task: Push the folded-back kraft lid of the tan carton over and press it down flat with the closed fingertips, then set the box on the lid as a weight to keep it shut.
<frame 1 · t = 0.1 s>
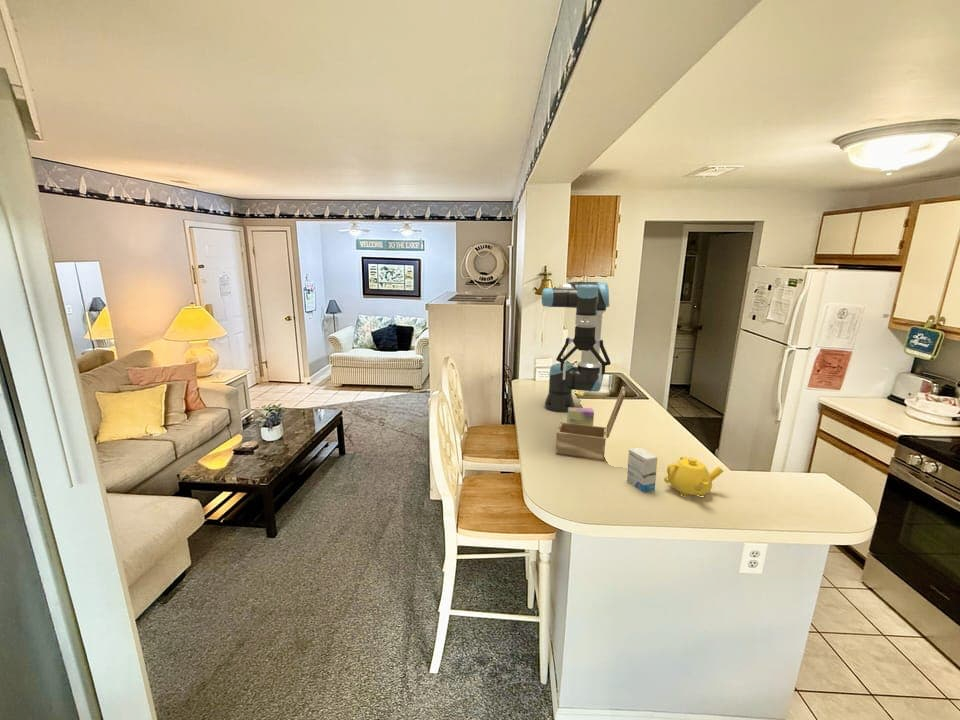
hand: (581, 380, 162), 28 cm above the countertop, fingers open, 13 cm apart
teapot: (692, 492, 135), on the countertop
lid: (615, 411, 158), point 18 cm above the countertop, hinge at 105.0°
carton: (580, 451, 165), on the countertop
ink box: (639, 486, 139), on the countertop
box: (579, 435, 181), on the countertop
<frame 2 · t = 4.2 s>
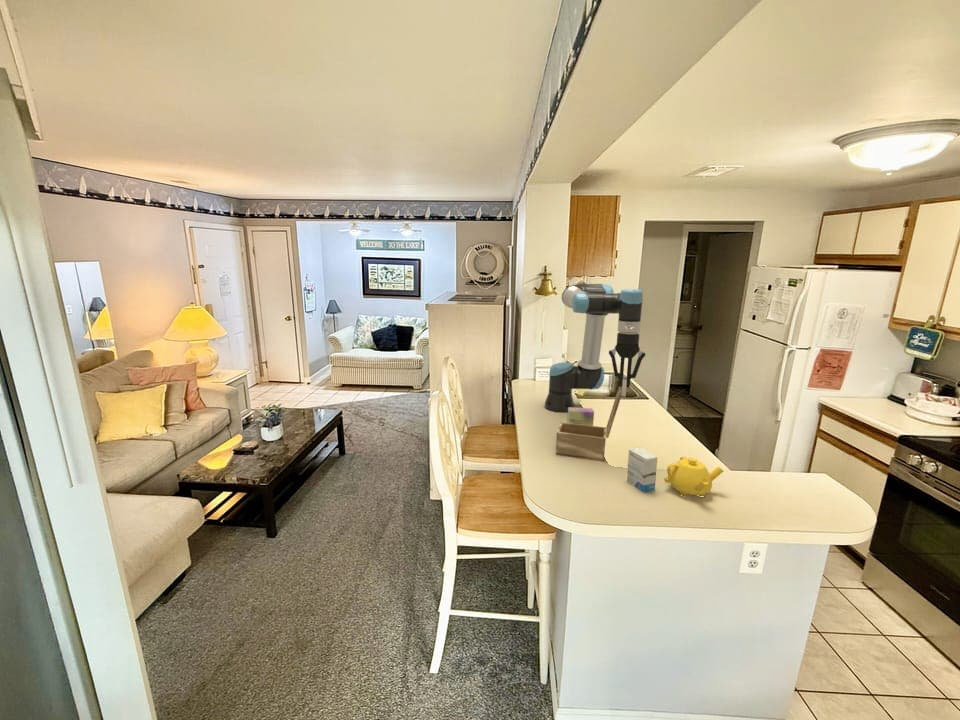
hand: (623, 395, 156), 25 cm above the countertop, fingers closed
lid: (614, 411, 158), point 18 cm above the countertop, hinge at 101.3°, touching gripper
everything else where it was.
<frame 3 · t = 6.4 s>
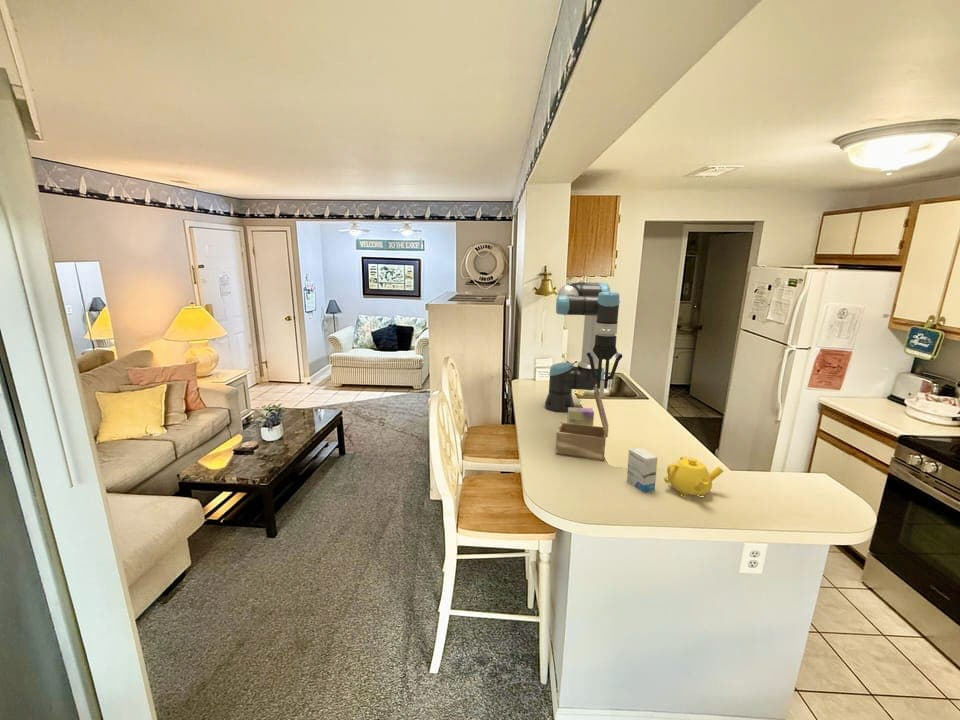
hand: (601, 396, 158), 23 cm above the countertop, fingers closed
lid: (601, 409, 159), point 18 cm above the countertop, hinge at 72.2°
everything else where it was.
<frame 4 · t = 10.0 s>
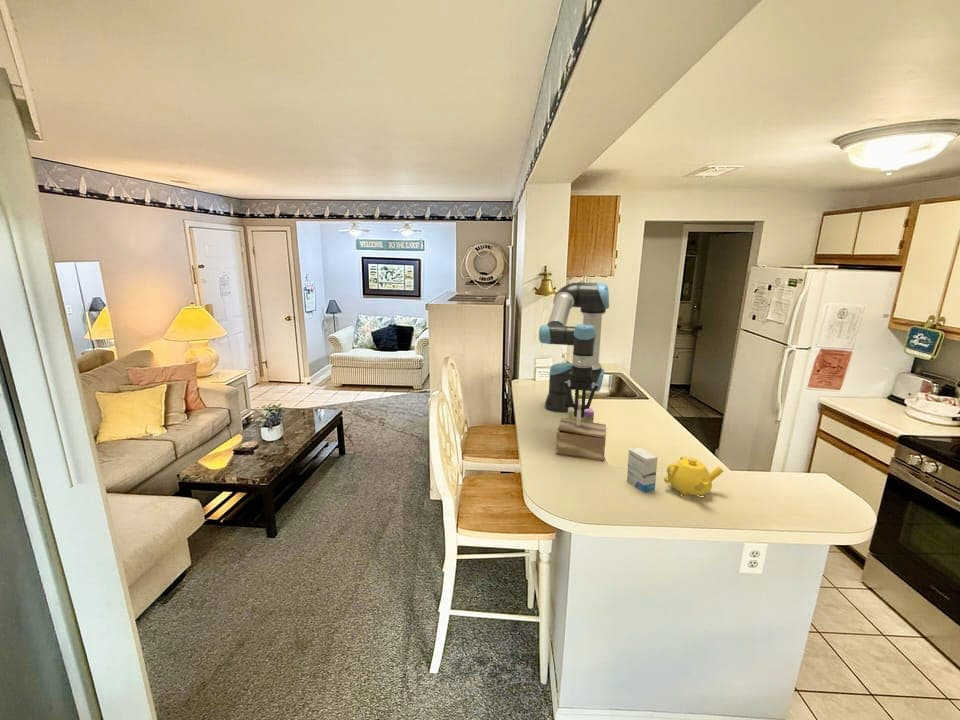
hand: (578, 424, 163), 11 cm above the countertop, fingers closed
lid: (582, 427, 163), point 10 cm above the countertop, hinge at 2.9°, touching gripper
everything else where it was.
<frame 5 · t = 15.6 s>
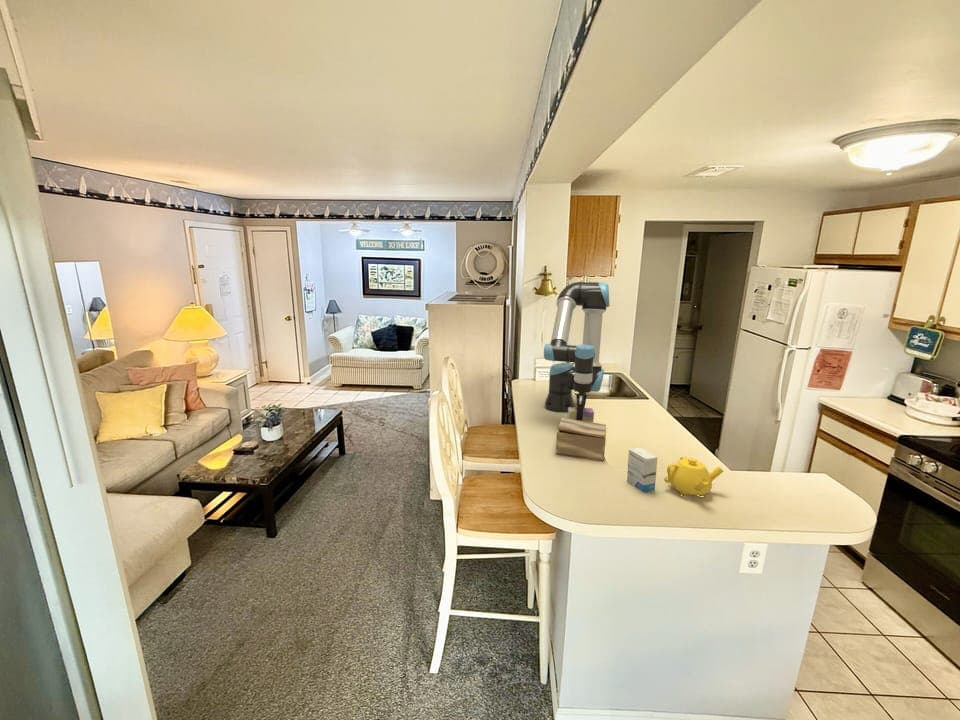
hand: (579, 433, 181), 1 cm above the countertop, fingers closed on box, 6 cm apart
lid: (582, 427, 163), point 10 cm above the countertop, hinge at 2.8°
box: (579, 435, 181), on the countertop, touching gripper
everything else where it was.
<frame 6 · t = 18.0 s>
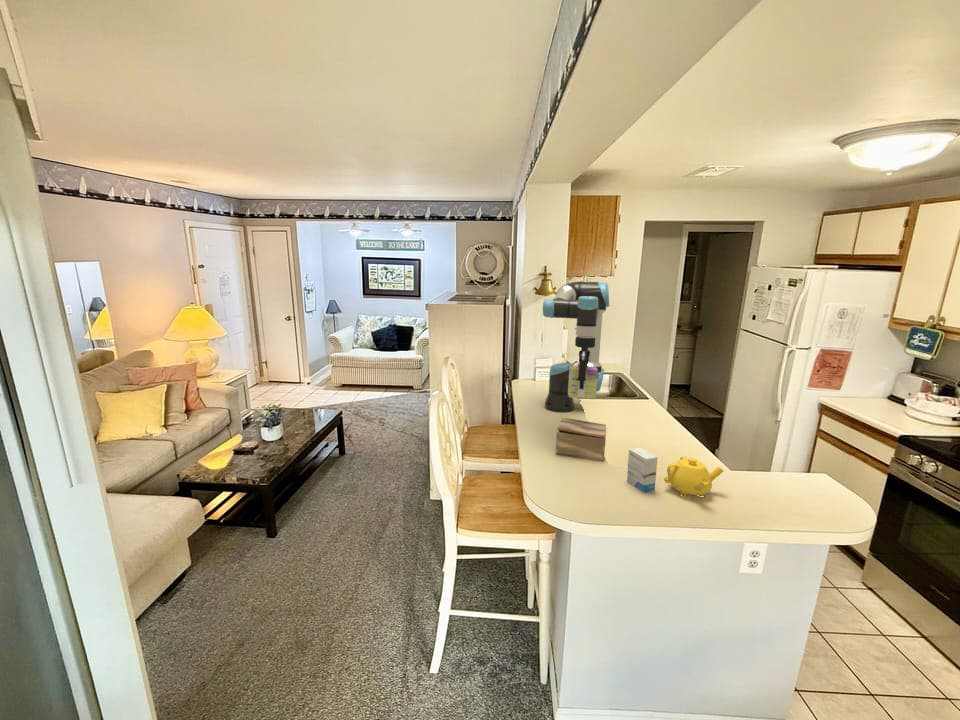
hand: (581, 394, 166), 22 cm above the countertop, fingers closed on box, 6 cm apart
box: (581, 397, 166), point 21 cm above the countertop, touching gripper
everything else where it was.
when the fingers open (13 cm above the countertop, at t = 20.3 s): box drops 1 cm, resting on lid.
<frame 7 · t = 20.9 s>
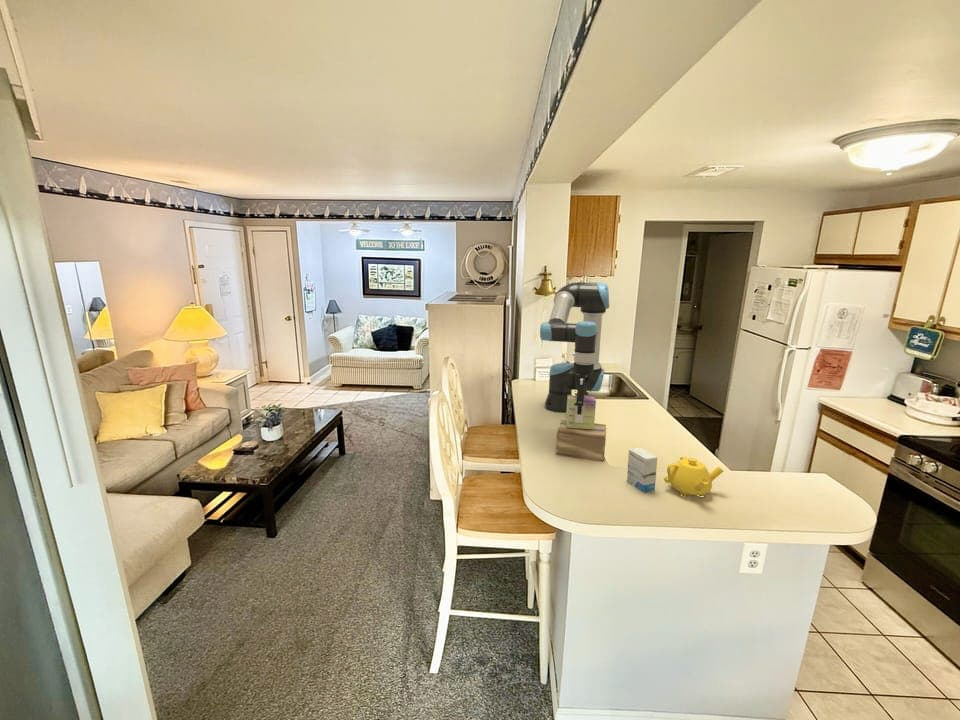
hand: (580, 416, 162), 15 cm above the countertop, fingers open, 13 cm apart
lid: (582, 428, 163), point 10 cm above the countertop, hinge at -0.2°, touching box
box: (579, 427, 163), point 10 cm above the countertop, touching lid
everything else where it was.
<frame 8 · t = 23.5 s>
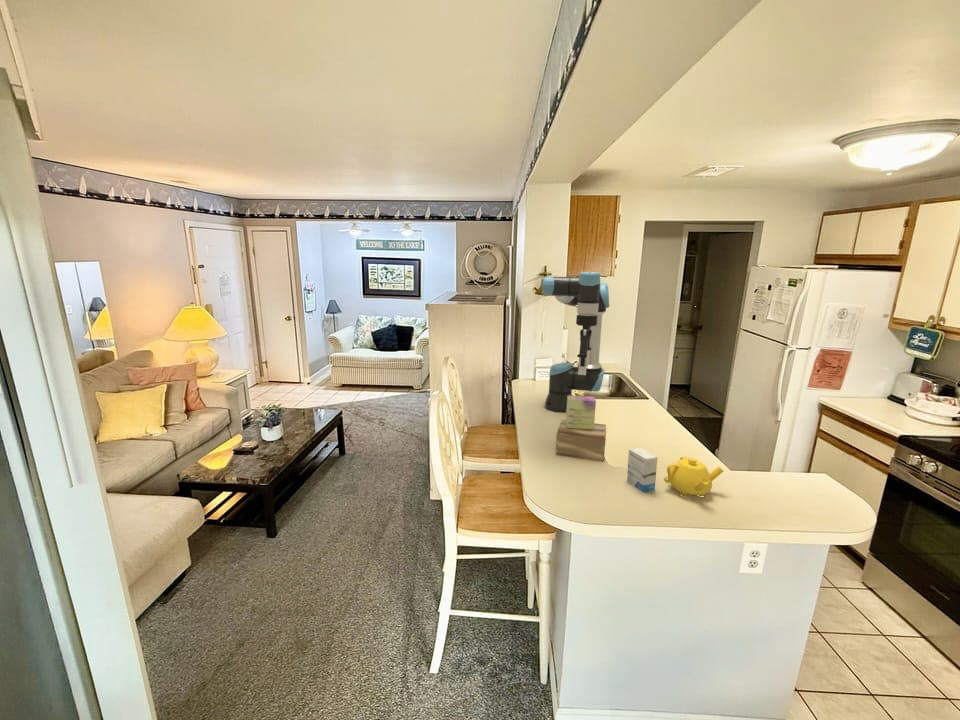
hand: (583, 370, 158), 33 cm above the countertop, fingers open, 13 cm apart
nothing on the countertop moved.
at the end: lid at +0° (first picture: +105°); box inside the target area (1.1 cm from its centre), point 10.0 cm above the countertop; box tilted 0° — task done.
